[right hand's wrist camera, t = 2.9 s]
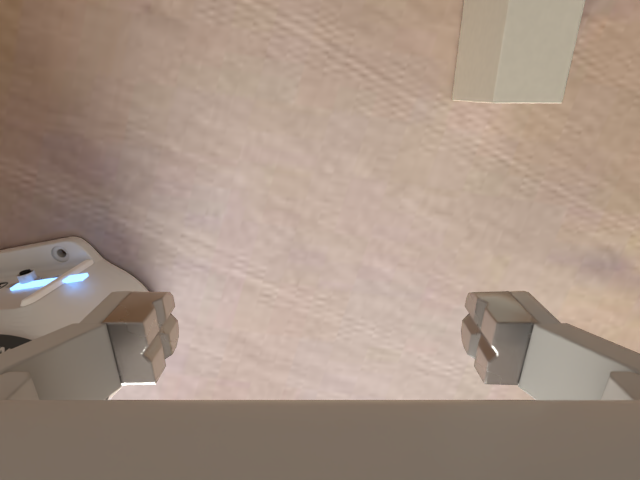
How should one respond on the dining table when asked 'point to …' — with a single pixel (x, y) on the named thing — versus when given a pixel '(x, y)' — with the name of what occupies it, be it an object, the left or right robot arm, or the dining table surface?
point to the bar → (516, 50)
